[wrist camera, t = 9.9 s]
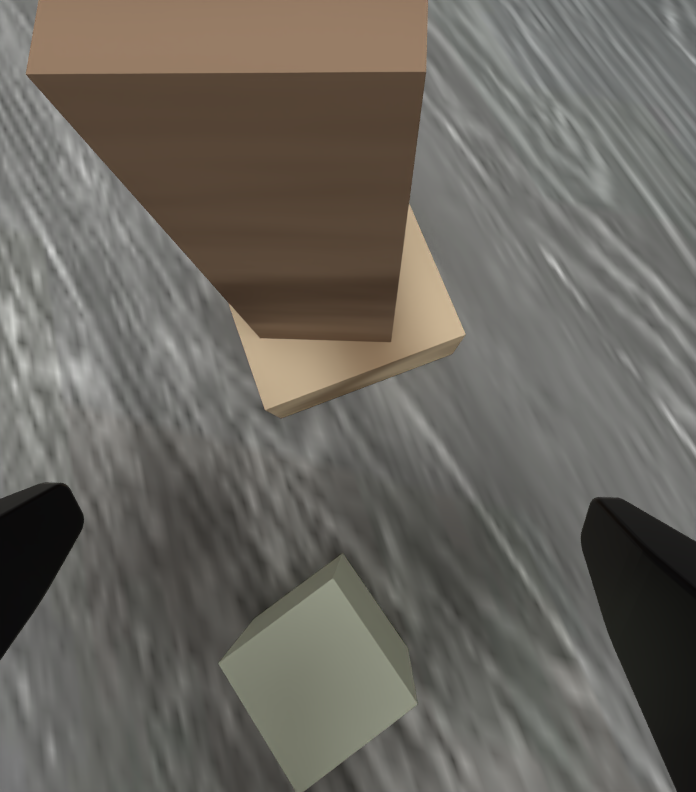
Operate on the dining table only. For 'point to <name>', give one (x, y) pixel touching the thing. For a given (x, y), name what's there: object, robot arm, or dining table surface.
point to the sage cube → (321, 673)
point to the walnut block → (256, 141)
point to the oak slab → (359, 342)
